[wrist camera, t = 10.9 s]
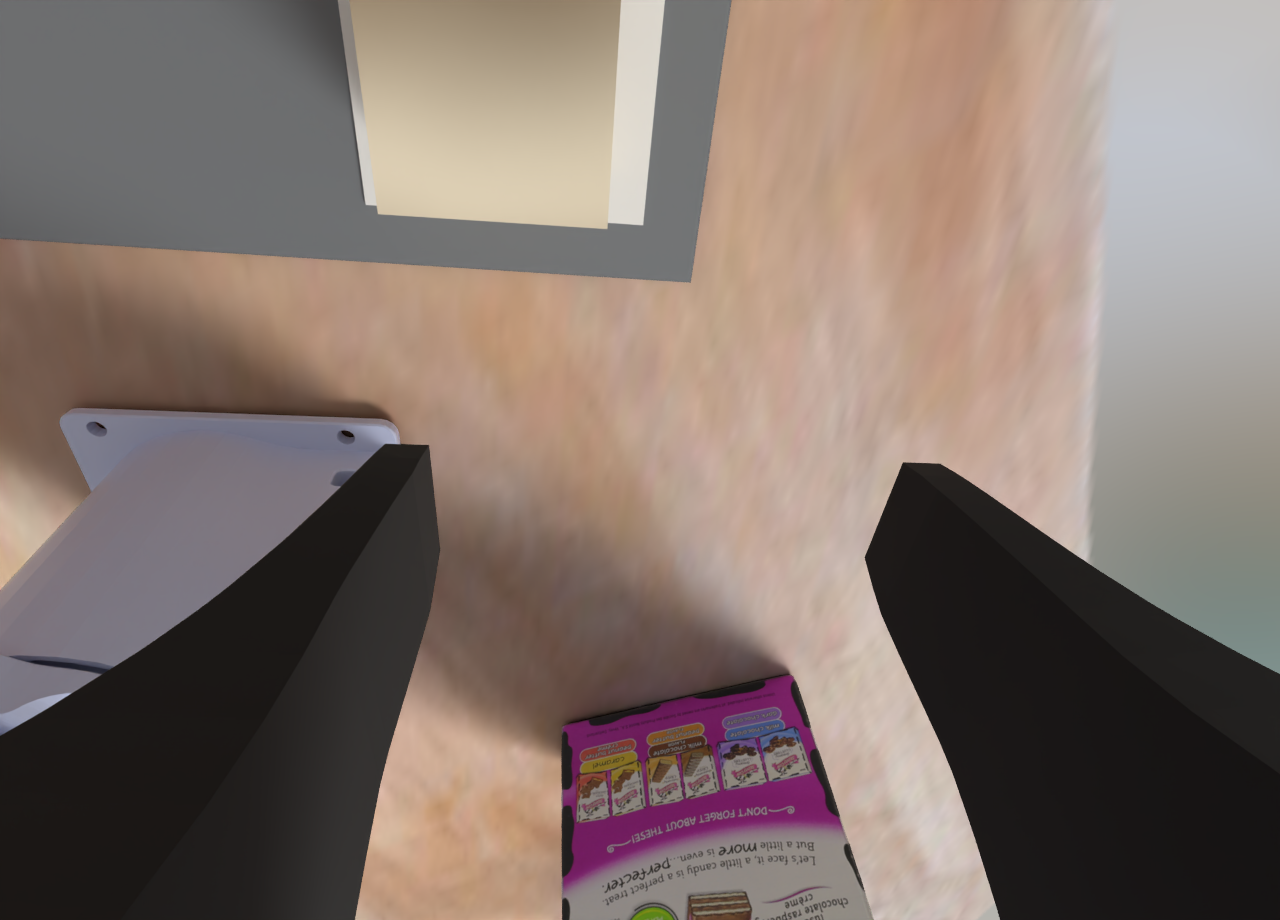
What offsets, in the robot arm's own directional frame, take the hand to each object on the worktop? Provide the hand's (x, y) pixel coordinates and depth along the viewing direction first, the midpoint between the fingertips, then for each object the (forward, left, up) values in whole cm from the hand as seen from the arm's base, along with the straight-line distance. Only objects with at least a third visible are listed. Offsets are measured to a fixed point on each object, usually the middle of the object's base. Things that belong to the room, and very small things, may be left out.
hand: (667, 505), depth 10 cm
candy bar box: (-5, +22, -11) cm, 25 cm away
